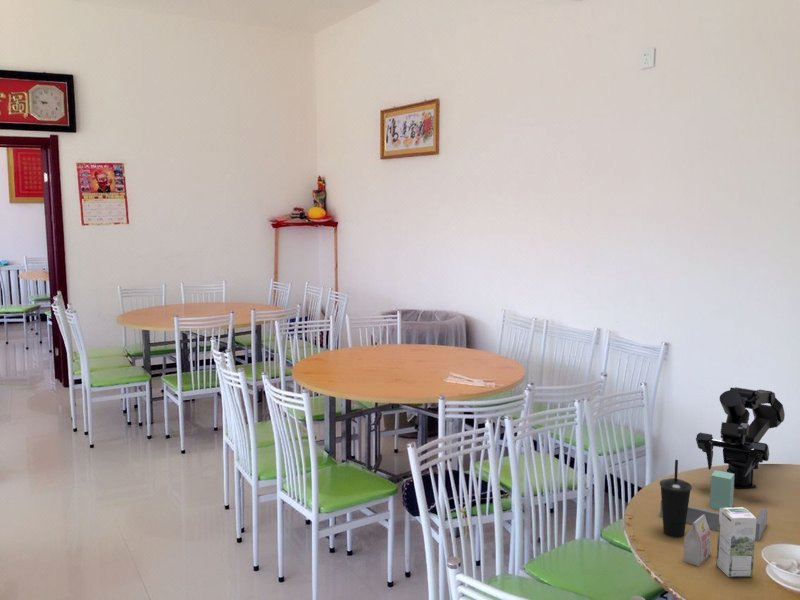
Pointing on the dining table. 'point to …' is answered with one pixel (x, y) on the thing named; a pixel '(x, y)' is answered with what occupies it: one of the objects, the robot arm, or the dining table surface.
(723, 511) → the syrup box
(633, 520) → the dining table surface
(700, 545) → the small gable top carton
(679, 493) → the drinking cup
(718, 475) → the green block
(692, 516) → the open crate
